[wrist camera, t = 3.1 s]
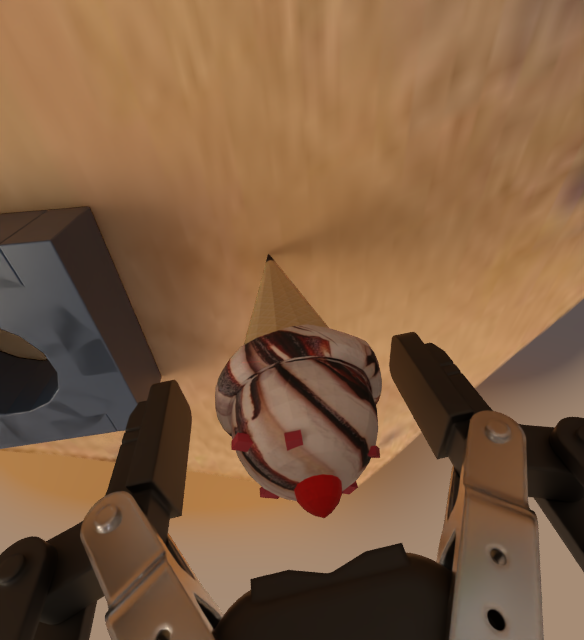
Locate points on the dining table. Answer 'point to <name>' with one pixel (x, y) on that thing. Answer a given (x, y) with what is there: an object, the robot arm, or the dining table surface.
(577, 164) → the dining table surface
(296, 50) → the dining table surface
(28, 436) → the cone stand
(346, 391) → the ice cream cone
